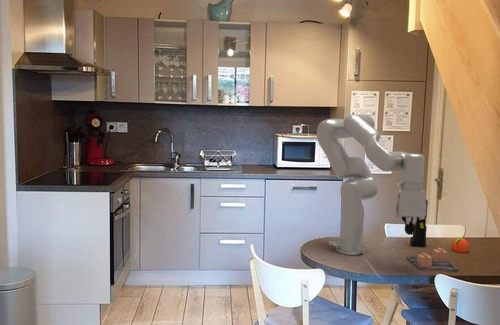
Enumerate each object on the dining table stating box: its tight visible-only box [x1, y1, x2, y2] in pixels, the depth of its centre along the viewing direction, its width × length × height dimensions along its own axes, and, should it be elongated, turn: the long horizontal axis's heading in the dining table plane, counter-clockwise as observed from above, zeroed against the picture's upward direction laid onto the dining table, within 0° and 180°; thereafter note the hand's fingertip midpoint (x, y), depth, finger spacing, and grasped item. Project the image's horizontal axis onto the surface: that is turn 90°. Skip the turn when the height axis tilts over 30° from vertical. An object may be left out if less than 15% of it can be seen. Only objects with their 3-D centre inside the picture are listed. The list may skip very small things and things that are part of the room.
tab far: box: [431, 247, 448, 262], centre depth 181 cm, size 4×4×5 cm
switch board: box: [406, 255, 460, 273], centre depth 178 cm, size 24×17×2 cm
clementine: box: [451, 237, 470, 254], centre depth 197 cm, size 8×7×7 cm
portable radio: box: [409, 198, 429, 248], centre depth 204 cm, size 8×6×25 cm
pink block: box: [416, 252, 433, 267], centre depth 173 cm, size 4×4×5 cm
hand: (409, 233), depth 172 cm, fingers closed
